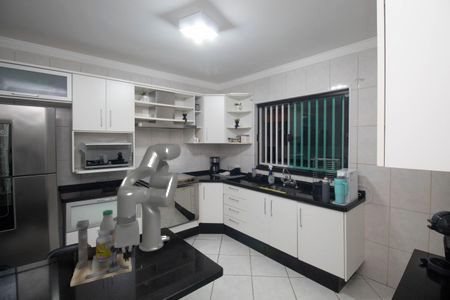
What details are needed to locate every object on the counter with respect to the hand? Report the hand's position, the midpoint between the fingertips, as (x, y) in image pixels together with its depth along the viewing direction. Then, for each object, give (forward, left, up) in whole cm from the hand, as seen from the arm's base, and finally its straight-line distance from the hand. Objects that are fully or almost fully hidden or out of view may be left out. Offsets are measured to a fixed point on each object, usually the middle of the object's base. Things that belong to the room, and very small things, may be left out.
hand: (126, 259), depth 91 cm
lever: (+5, 0, -3) cm, 6 cm away
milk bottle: (+8, -26, -5) cm, 28 cm away
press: (+9, -7, -5) cm, 12 cm away
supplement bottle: (+9, -10, -2) cm, 13 cm away
